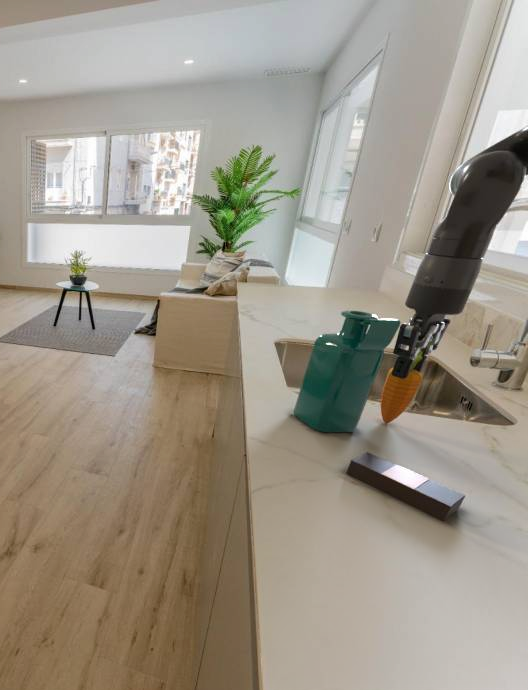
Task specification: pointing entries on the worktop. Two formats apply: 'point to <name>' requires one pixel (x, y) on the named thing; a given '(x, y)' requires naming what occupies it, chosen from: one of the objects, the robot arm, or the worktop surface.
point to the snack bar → (406, 485)
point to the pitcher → (343, 372)
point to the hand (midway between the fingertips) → (405, 374)
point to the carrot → (399, 392)
